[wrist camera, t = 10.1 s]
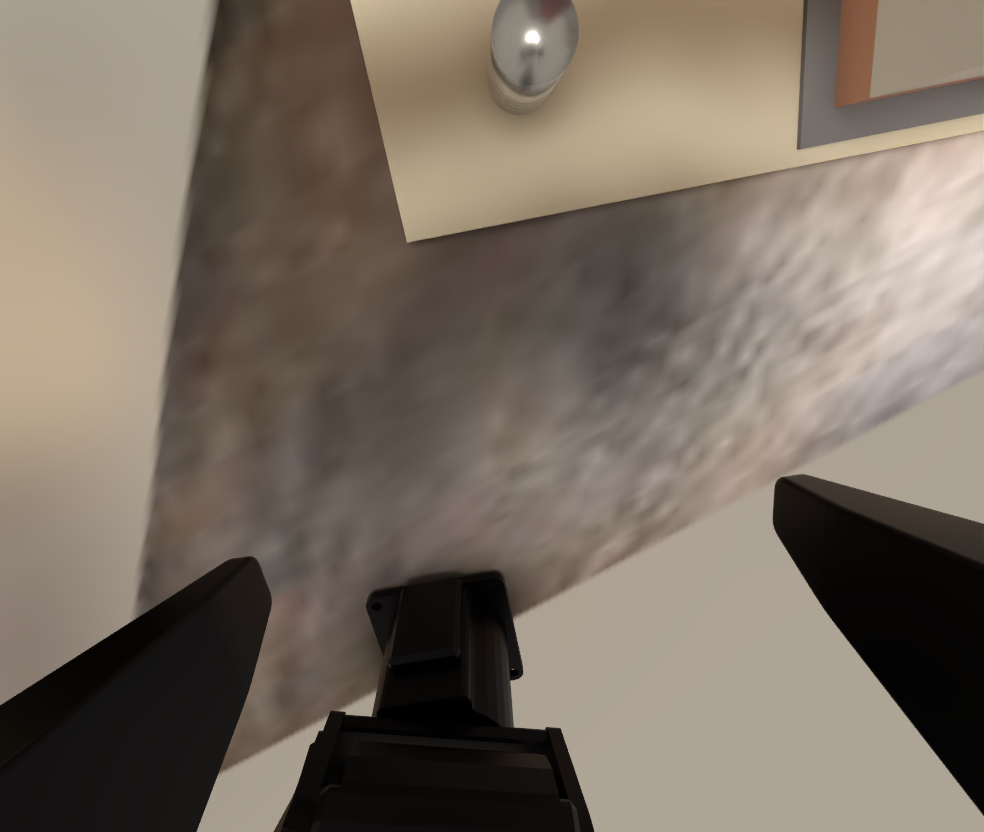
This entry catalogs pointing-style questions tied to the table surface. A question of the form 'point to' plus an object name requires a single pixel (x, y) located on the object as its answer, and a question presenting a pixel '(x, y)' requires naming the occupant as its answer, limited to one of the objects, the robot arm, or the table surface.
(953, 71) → the sleeve
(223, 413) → the table surface
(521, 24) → the pins
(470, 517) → the table surface
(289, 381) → the table surface
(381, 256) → the table surface
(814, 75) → the pin board
